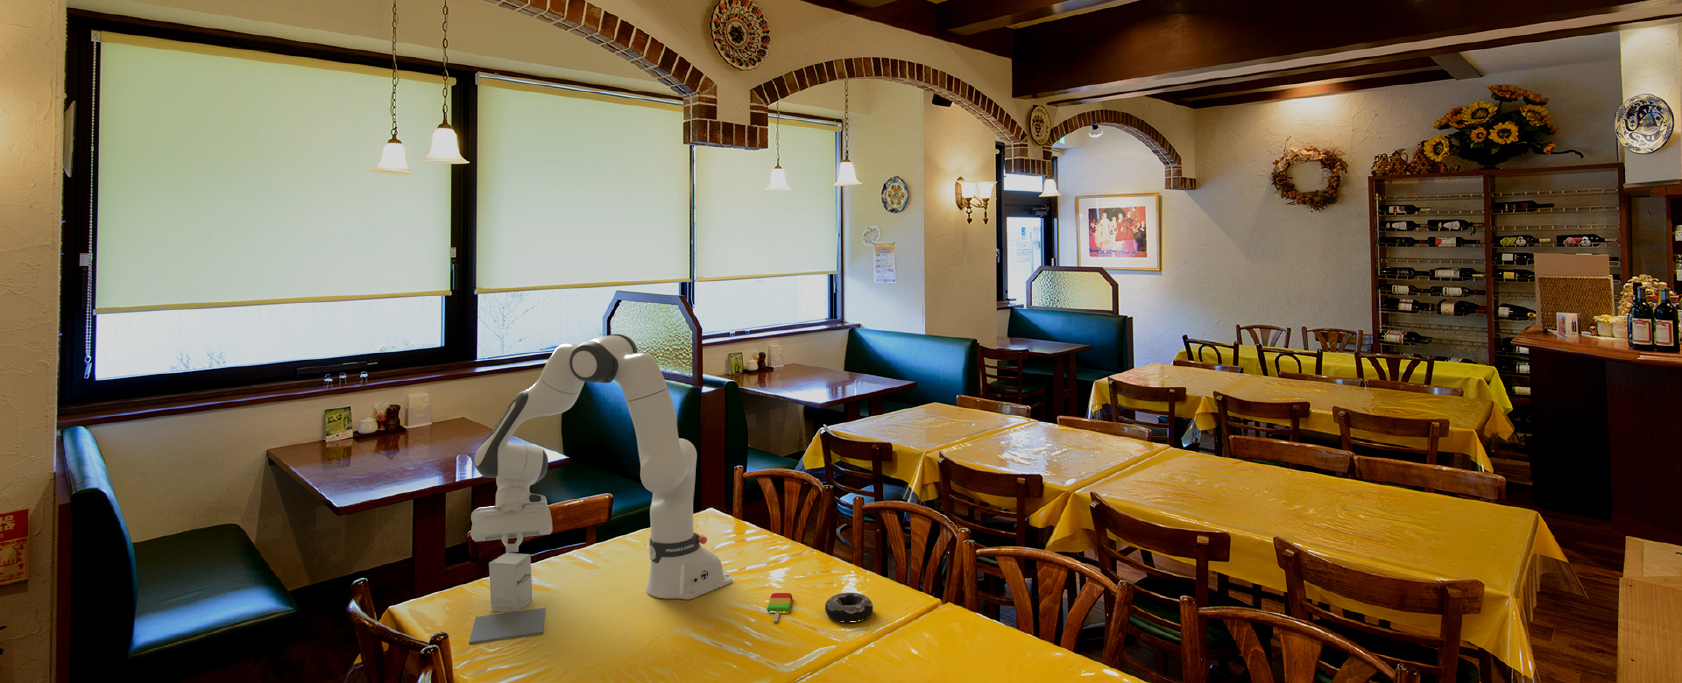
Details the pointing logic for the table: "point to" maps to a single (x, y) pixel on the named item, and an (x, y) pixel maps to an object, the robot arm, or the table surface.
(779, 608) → the popsicle
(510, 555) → the supplement box
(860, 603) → the donut
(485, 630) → the rubber mat
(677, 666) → the table surface
